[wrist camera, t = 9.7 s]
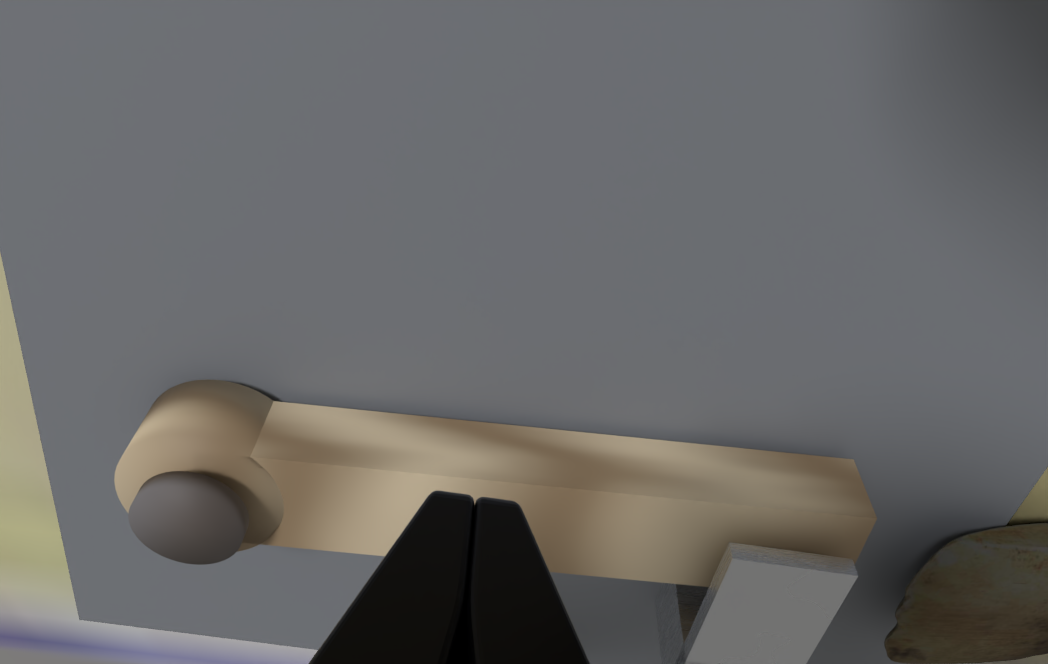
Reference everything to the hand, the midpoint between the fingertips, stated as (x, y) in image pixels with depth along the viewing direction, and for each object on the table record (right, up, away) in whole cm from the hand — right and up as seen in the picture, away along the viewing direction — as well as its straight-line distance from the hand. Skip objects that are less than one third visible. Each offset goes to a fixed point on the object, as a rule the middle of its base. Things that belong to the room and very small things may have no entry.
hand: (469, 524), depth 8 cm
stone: (+20, -8, +19) cm, 29 cm away
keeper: (+6, -4, +16) cm, 18 cm away
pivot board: (+1, +1, +14) cm, 14 cm away
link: (0, -2, +14) cm, 14 cm away
